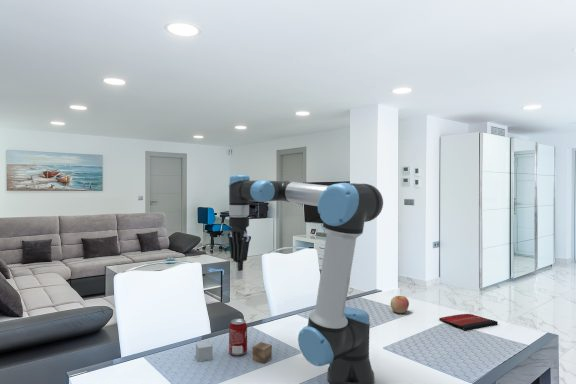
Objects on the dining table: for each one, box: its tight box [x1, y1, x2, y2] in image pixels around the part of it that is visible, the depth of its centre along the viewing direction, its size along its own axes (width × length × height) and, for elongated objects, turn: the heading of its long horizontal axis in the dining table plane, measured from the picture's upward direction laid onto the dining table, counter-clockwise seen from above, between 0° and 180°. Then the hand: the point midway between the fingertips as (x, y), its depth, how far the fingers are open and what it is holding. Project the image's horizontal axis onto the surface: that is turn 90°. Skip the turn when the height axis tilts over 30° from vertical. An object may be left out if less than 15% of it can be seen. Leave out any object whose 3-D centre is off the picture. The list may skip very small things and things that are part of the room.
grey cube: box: [195, 340, 214, 363], centre depth 142 cm, size 5×5×5 cm
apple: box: [390, 295, 410, 314], centre depth 195 cm, size 9×9×8 cm
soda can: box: [228, 318, 248, 356], centre depth 146 cm, size 7×7×12 cm
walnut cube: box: [252, 341, 273, 364], centre depth 141 cm, size 5×5×5 cm
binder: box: [438, 313, 499, 332], centre depth 182 cm, size 16×2×21 cm
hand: (238, 278), depth 146 cm, fingers closed
